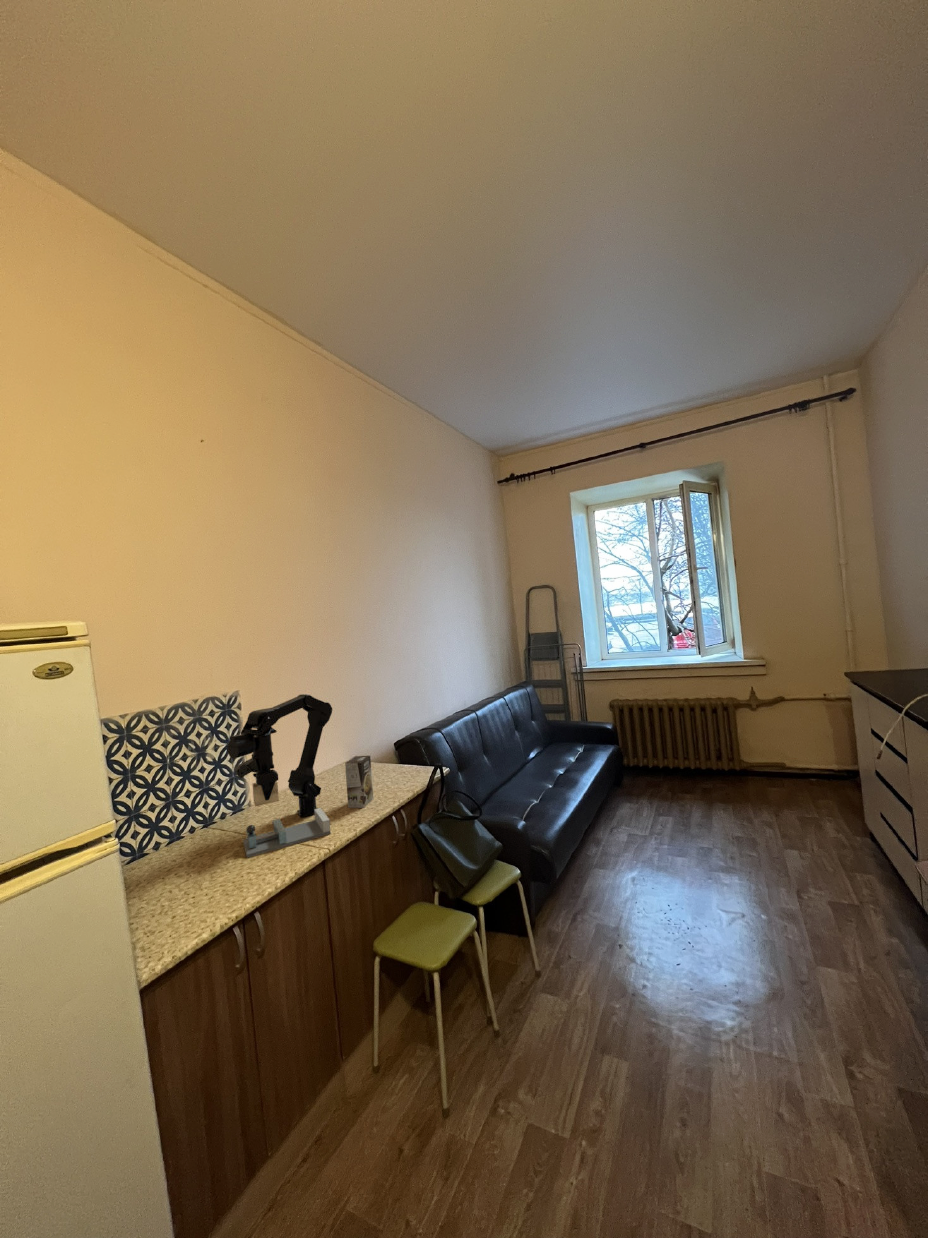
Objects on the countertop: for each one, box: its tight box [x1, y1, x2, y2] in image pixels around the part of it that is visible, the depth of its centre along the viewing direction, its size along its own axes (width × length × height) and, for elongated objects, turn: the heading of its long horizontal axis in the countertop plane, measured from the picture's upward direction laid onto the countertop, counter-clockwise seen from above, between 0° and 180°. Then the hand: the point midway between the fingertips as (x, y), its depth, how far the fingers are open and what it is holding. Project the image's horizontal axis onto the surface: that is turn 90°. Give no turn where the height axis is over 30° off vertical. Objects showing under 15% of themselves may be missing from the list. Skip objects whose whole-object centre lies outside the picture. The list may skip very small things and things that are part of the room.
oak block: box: [251, 780, 280, 807], centre depth 155 cm, size 5×7×6 cm
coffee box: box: [344, 755, 374, 809], centre depth 175 cm, size 9×6×16 cm
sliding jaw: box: [246, 818, 287, 848], centre depth 146 cm, size 12×10×6 cm
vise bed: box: [242, 807, 331, 859], centre depth 149 cm, size 12×24×4 cm, turn 120°
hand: (266, 797), depth 155 cm, fingers closed on oak block, 5 cm apart
